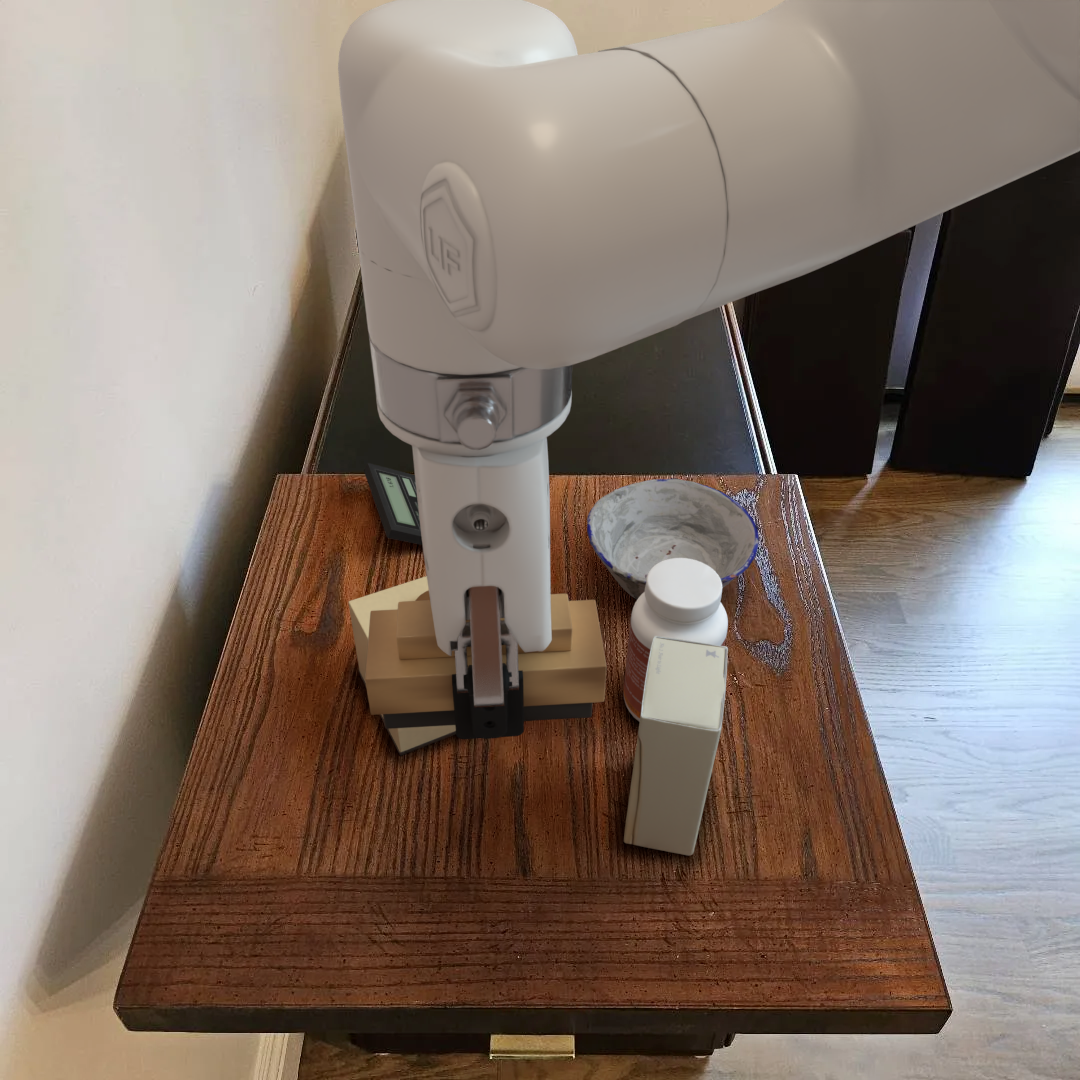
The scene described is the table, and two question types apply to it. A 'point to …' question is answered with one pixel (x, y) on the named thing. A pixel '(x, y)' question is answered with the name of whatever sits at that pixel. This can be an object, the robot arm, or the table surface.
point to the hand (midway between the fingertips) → (487, 688)
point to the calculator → (395, 502)
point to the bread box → (360, 620)
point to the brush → (426, 671)
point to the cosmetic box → (676, 743)
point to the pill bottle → (672, 617)
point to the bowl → (670, 530)
